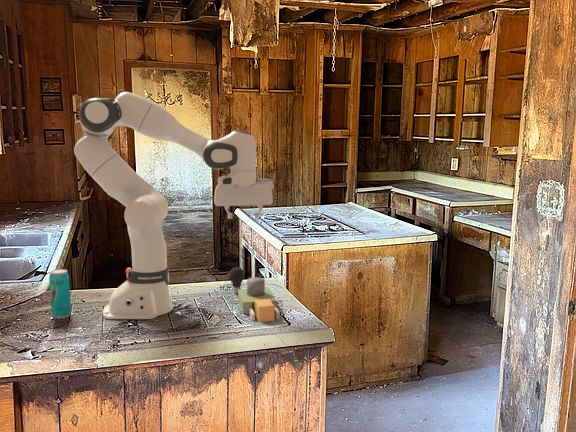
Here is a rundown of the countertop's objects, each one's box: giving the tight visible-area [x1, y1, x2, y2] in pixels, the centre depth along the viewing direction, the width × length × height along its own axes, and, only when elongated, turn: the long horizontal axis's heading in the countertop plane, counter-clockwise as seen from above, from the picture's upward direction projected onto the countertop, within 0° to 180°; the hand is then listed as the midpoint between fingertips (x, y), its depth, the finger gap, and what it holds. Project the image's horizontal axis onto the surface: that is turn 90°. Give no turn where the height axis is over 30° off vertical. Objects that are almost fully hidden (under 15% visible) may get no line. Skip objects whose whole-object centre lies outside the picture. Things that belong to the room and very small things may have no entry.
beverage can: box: [48, 268, 72, 320], centre depth 171 cm, size 6×6×15 cm
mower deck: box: [237, 276, 281, 322], centre depth 179 cm, size 11×20×9 cm, turn 12°
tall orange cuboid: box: [254, 299, 275, 323], centre depth 172 cm, size 5×7×5 cm
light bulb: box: [228, 266, 245, 295], centre depth 196 cm, size 6×6×10 cm
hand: (243, 218), depth 186 cm, fingers open, 8 cm apart
